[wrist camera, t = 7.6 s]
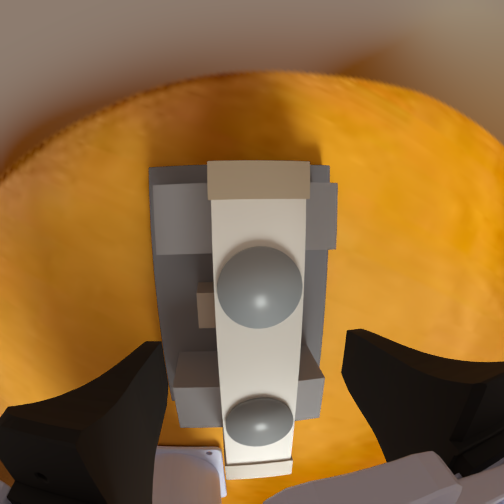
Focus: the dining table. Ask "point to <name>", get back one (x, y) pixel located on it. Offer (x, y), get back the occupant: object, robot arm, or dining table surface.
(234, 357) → the frame bar
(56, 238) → the dining table surface
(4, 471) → the plant pot
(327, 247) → the grey fixture base
